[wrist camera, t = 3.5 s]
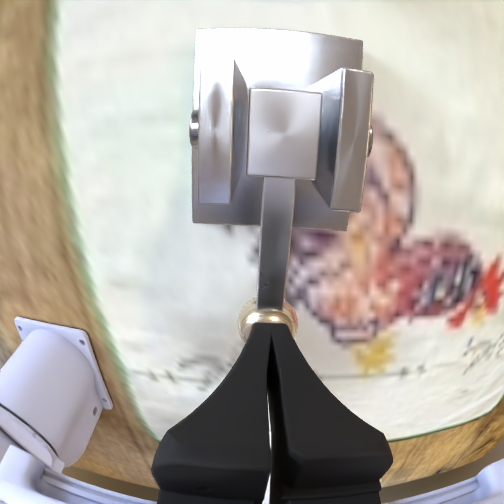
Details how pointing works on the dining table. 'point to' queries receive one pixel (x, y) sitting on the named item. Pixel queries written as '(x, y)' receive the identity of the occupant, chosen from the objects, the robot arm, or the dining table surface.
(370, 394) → the dining table surface
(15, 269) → the dining table surface
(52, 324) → the robot arm
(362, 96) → the bracket
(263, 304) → the tap lever
